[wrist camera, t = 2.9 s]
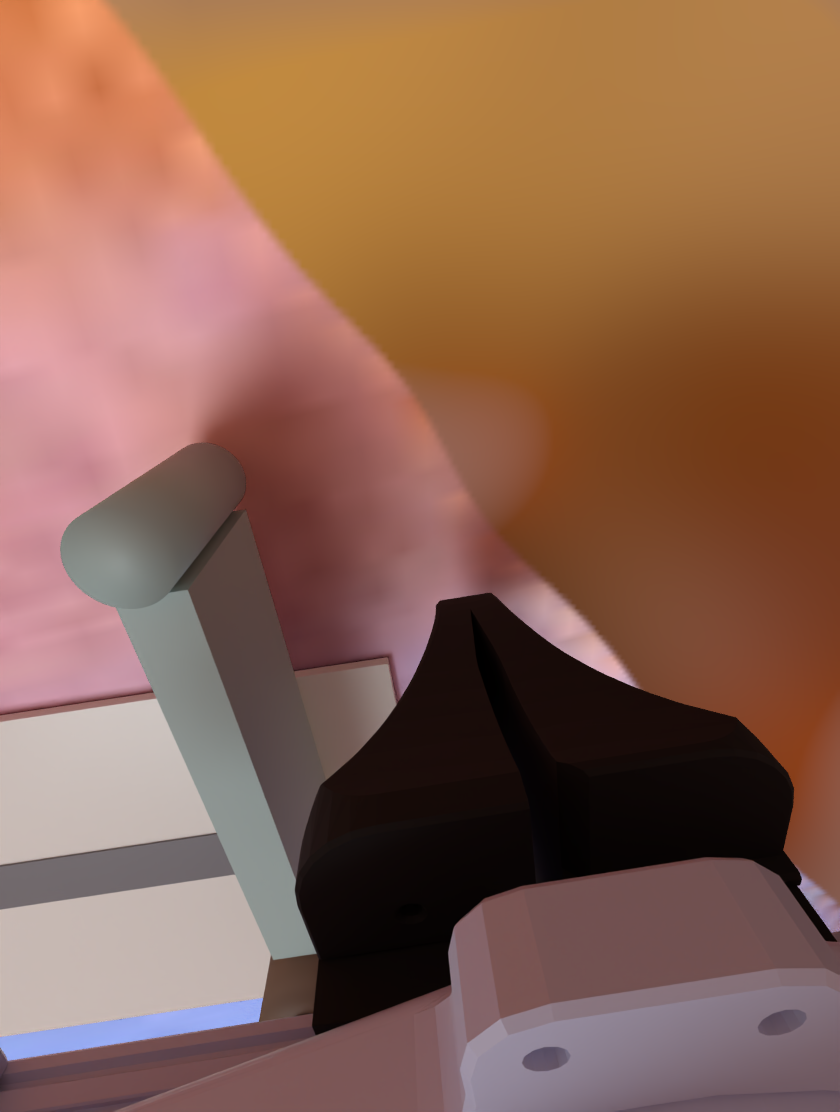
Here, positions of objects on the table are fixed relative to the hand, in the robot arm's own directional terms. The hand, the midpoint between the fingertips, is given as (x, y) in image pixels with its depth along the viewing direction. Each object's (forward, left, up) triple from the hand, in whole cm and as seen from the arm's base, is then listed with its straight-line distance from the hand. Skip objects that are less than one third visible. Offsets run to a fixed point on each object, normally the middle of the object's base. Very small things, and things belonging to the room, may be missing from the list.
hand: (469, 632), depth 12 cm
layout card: (-9, +12, -2) cm, 15 cm away
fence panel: (-1, +5, -1) cm, 5 cm away
